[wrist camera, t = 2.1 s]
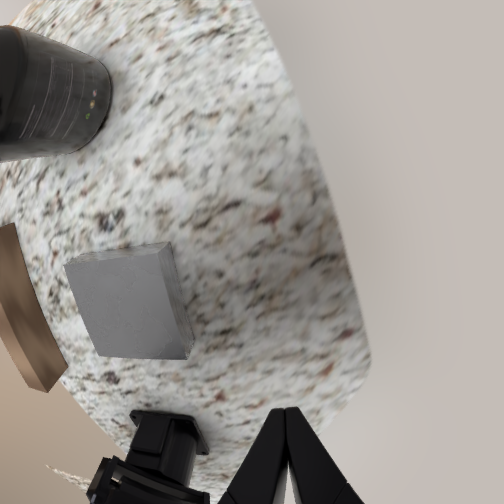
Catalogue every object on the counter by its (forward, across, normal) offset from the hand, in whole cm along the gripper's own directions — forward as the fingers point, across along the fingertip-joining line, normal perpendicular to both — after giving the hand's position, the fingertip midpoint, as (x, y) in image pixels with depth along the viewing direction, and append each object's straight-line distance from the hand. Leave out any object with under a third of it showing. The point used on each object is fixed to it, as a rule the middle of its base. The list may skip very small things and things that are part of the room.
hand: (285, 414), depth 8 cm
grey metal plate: (+10, +9, 0) cm, 14 cm away
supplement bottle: (+10, +11, -14) cm, 20 cm away
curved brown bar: (+10, +21, 0) cm, 23 cm away
